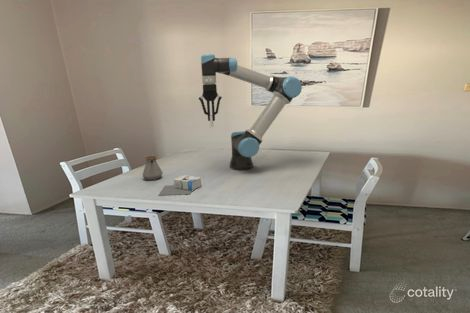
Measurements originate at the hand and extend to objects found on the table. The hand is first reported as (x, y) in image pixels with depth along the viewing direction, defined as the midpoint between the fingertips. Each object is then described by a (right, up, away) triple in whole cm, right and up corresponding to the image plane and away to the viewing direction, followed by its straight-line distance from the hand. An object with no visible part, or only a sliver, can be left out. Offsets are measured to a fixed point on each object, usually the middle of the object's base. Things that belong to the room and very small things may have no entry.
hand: (211, 126), depth 171 cm
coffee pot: (-34, -31, +3) cm, 46 cm away
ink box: (-7, -31, -14) cm, 35 cm away
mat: (-17, -34, -14) cm, 41 cm away
